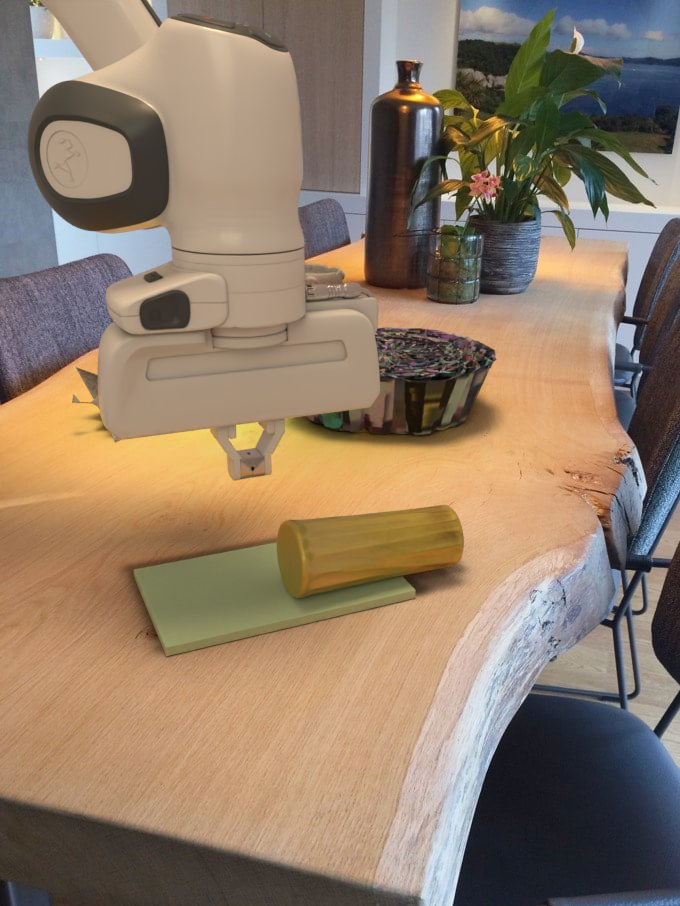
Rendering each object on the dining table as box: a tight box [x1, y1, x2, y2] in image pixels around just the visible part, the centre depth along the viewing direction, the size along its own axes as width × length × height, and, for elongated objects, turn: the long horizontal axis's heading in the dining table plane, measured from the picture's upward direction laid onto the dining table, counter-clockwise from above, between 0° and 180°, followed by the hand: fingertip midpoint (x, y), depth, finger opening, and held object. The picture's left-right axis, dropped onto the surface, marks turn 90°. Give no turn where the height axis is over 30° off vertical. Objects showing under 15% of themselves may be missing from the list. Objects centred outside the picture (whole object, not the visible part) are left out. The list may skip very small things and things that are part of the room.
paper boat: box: [71, 366, 122, 443], centre depth 99 cm, size 12×6×9 cm
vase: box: [276, 504, 465, 598], centre depth 67 cm, size 6×6×14 cm
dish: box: [305, 262, 346, 285], centre depth 178 cm, size 14×14×5 cm
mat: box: [133, 541, 417, 657], centre depth 67 cm, size 20×12×1 cm, turn 115°
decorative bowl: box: [305, 326, 497, 437], centre depth 106 cm, size 26×28×10 cm
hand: (249, 475), depth 62 cm, fingers closed
